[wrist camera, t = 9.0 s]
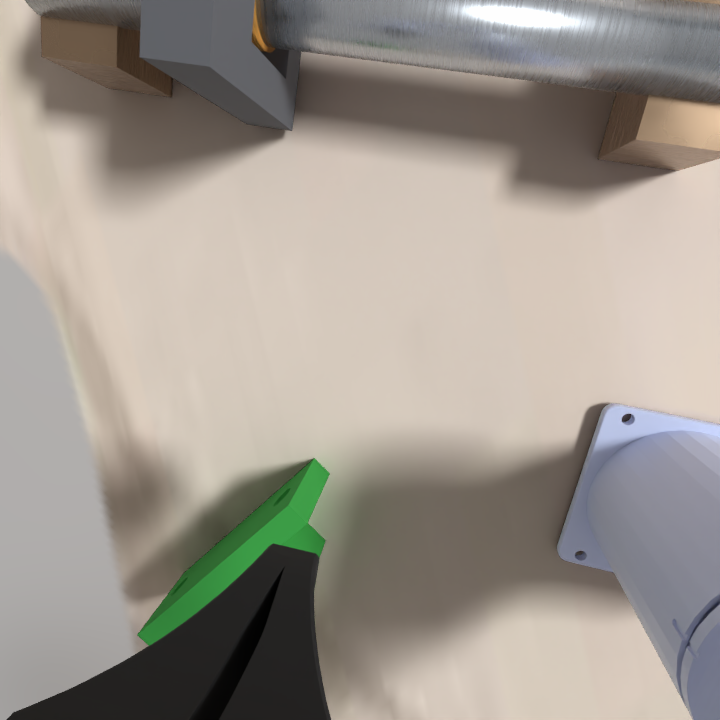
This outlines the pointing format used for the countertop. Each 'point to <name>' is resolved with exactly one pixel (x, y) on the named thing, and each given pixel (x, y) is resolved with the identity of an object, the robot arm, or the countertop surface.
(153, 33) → the collar
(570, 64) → the pipe rig
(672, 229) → the countertop surface
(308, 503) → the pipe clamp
